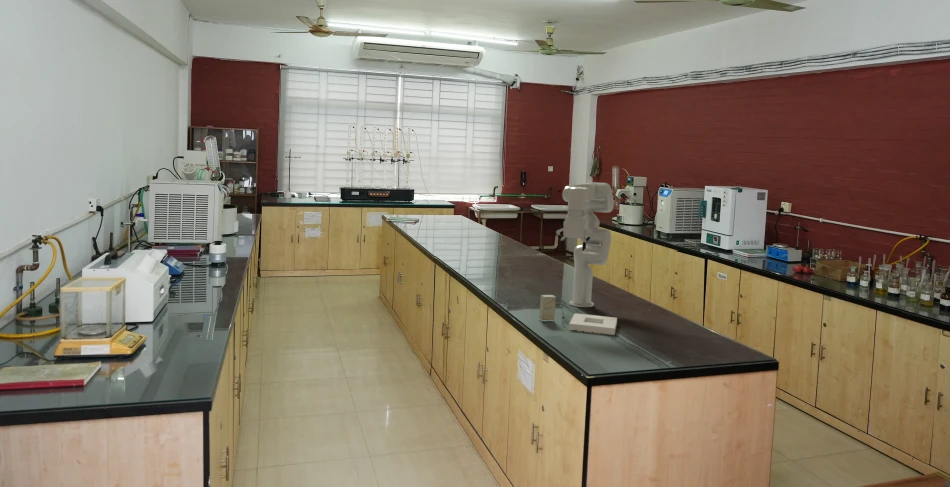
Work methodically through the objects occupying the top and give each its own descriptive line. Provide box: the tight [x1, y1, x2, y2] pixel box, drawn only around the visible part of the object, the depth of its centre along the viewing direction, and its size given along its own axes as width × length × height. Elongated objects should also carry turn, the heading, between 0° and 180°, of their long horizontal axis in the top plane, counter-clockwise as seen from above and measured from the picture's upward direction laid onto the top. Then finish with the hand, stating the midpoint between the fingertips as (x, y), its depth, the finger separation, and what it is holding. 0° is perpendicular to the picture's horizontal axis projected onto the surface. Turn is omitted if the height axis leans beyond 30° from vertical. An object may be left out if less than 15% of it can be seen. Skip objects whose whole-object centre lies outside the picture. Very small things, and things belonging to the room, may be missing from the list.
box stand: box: [568, 313, 618, 336], centre depth 314 cm, size 20×20×3 cm
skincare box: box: [539, 294, 557, 321], centre depth 320 cm, size 6×4×12 cm
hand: (573, 249), depth 325 cm, fingers open, 9 cm apart
